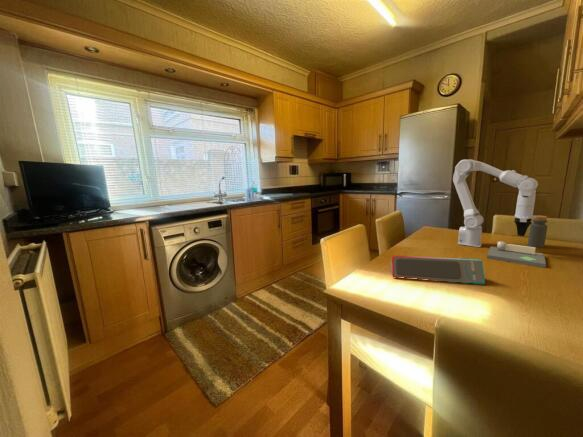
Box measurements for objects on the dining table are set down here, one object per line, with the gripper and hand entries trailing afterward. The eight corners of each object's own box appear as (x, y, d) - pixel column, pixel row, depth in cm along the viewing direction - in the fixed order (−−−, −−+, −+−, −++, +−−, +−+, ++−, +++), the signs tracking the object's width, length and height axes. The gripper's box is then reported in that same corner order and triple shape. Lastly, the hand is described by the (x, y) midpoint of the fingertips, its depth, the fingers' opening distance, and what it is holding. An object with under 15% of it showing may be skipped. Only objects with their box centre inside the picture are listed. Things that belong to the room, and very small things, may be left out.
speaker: (479, 254, 88) (391, 250, 96) (489, 276, 81) (393, 270, 89) (472, 269, 93) (389, 264, 102) (481, 290, 86) (391, 283, 95)
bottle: (547, 247, 116) (552, 217, 113) (535, 247, 117) (540, 217, 114) (535, 243, 122) (540, 214, 119) (524, 244, 122) (528, 215, 119)
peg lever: (496, 249, 112) (497, 242, 111) (497, 247, 114) (497, 240, 113) (542, 256, 102) (543, 248, 101) (541, 254, 104) (542, 246, 103)
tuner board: (486, 258, 107) (487, 254, 107) (490, 249, 118) (490, 246, 117) (545, 267, 95) (545, 263, 94) (543, 256, 105) (543, 253, 105)
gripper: (538, 208, 100) (533, 239, 103) (537, 203, 110) (532, 232, 113) (515, 207, 105) (511, 237, 107) (516, 203, 115) (512, 230, 118)
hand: (520, 234), depth 110 cm, fingers open, 4 cm apart
